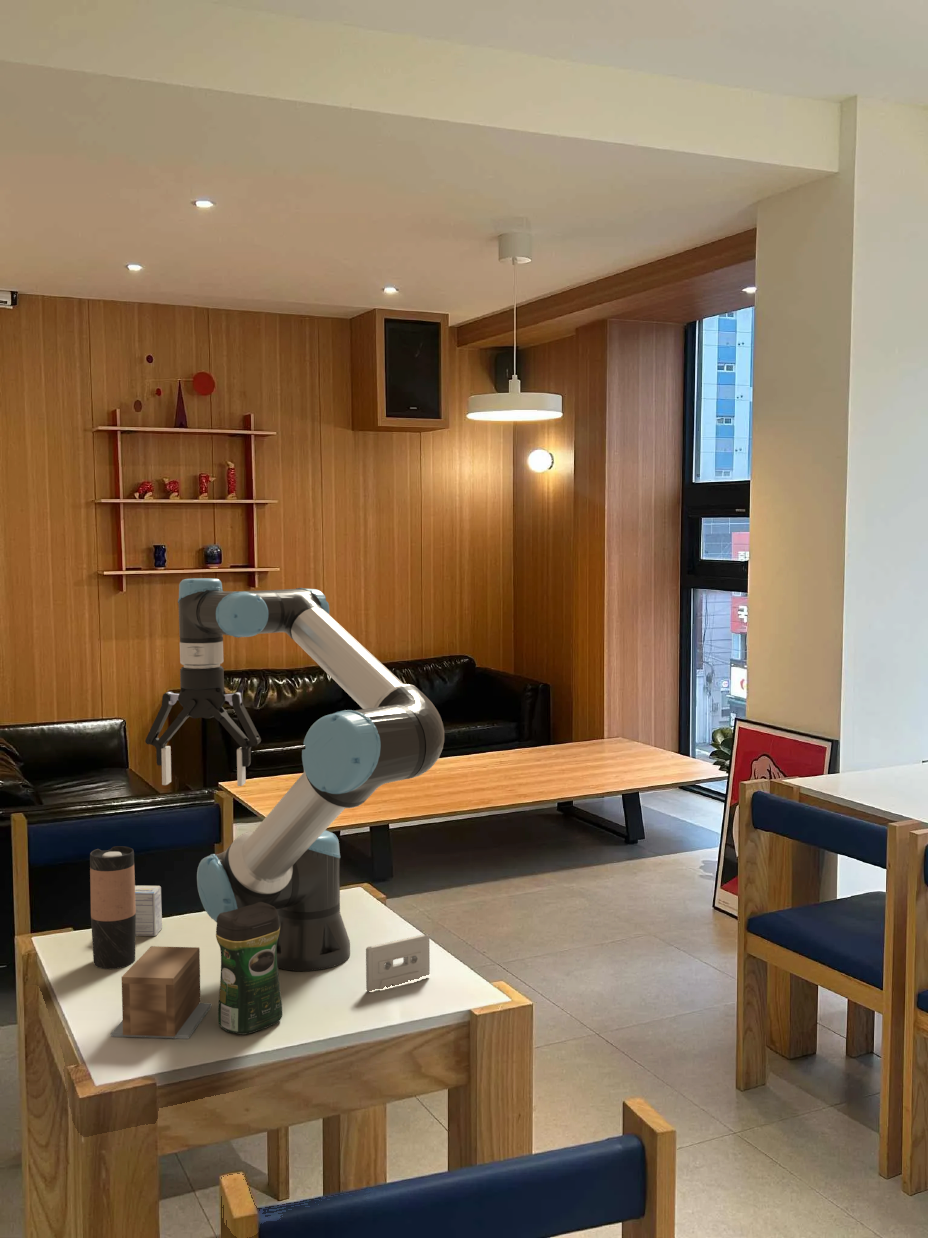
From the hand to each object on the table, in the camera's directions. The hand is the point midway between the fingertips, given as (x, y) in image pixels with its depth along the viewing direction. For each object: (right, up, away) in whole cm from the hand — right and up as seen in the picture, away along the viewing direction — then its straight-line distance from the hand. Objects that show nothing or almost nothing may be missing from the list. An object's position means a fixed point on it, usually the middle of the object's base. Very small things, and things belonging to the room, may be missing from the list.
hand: (204, 784), depth 205 cm
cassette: (+35, -33, -10) cm, 49 cm away
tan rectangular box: (-1, -33, -25) cm, 41 cm away
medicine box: (-16, -31, +16) cm, 38 cm away
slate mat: (-1, -34, -25) cm, 42 cm away
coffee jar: (+13, -34, -26) cm, 44 cm away
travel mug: (-16, -32, +1) cm, 36 cm away
